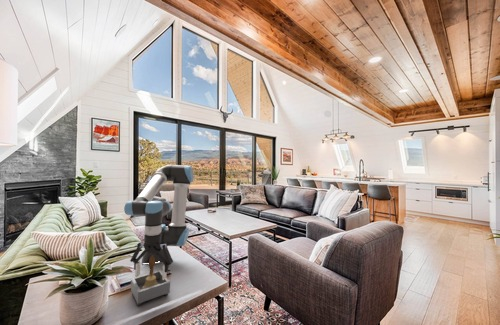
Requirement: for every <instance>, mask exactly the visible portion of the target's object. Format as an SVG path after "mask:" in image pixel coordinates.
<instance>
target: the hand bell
mask: <svg viewBox="0 0 500 325" xmlns="http://www.w3.org/2000/svg"><path fill="white" fill-rule="evenodd" d="M155 265H156V264H155V258H154V255H151V257H150V260H149V265H148V266H149V273H148V274H149V276H148V277H147V278H146V281H145V285H144V286H143V287H142V289H141V290H143V289H146V288H149V287H152V286H155V285H158V283H157V281H156V276H154V275H153V272H154V267H155Z"/></svg>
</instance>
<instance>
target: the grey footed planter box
mask: <svg viewBox="0 0 500 325" xmlns="http://www.w3.org/2000/svg"><path fill="white" fill-rule="evenodd" d="M153 275H154V276H156V281H157V283H158V285H155V286H152V287H149V288H146V289H143V290H141V289H142V287H143V286H144V285H145V281H146V278H147V277H148V276H149V273H146V274H142V275H139V276H138V277H137V278H136V277H135V276H134V277H132V278H130V290H131V295H132V296H133V297H134V300H135V301H136V302H135V303H136V306H137V307H140V306H141V304H142V303H144V302H147V301H150V300H152V299H156V298H158V297H161V296H165V297H166V296H168V295H169V294H170V292H171V281H170V280H169V279H168V277H167V276H166V278H165V279H164V280H162V275H163V270H162V269H160V270H156V271H153Z"/></svg>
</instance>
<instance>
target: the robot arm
mask: <svg viewBox="0 0 500 325" xmlns="http://www.w3.org/2000/svg"><path fill="white" fill-rule="evenodd" d="M167 182H172V185H173V186H174V192H173V201H172V202H173V204H172V205H171V203H170V202H169V201H168V200H153V199H154V198H155V196H156V195H157V193H159V190H160V189H161V188H162V186H163V185H165V184H166V183H167ZM193 182H194V169H193V168H192V166H191V165H186V164H183V165H182V164H181V165H180V164H167V165H164V166H162V167H159V168H158V169H157V170H155V171H154V172H153V174H152V176H151V179H150V181H148V183H147V184H146V185H145V186H144V188H143V189H142V190H141V192H140V193H139V194H138V196H137V197H136V198H135V199H134V200H127V201H126V203H125V204H124V208H123V209H124V210H123V211H124V214H125V215H126V216H132V217H135V216H136V217H137V216H138V217H139V216H142V217H144V237H143V241H144V242H143V241H140V242H138V243H137V246H136V249H135V250H134V253H133V254H132V256H131V258H130V260H129V261H130V262H131V263H133V264H134V265H133V270H135V273H134V278H135V277H136V278H137V277H138V276H141V264H142V263H149V260H150V257H151V255H154V258H155V262H158V261H160V262H162V264H163V265H162V272H163V275H162V280H164V279H165V278H166V277H167V274H168V272H169V268H170V267H169V266H171V265H172V263H174V260H173V258H172V255H171V253H170V251H169V248H168V247H183V246H185V245H186V243H187V241H188V238H189V233H190V229H189V228H188V227H187V223H186V222H185V221H186V210H187V200H188V188H189V187H190V186H191V183H193ZM171 210H172V212H171ZM170 212H171V222H170V223H169V224H168V227H167V226H166V224H165V223H163V217H164V216H167V215H168V214H169V213H170ZM142 248H144V250H142ZM141 250H142V252H141V253H140V251H141Z"/></svg>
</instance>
